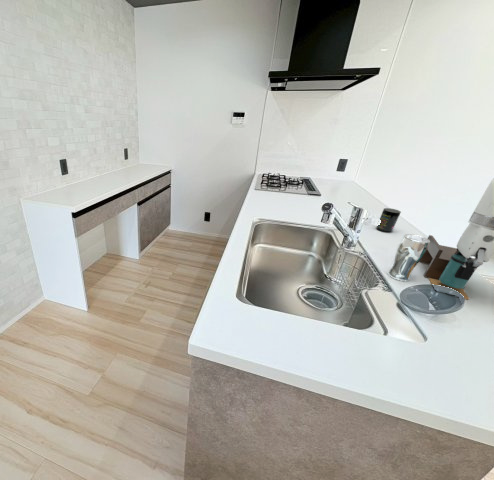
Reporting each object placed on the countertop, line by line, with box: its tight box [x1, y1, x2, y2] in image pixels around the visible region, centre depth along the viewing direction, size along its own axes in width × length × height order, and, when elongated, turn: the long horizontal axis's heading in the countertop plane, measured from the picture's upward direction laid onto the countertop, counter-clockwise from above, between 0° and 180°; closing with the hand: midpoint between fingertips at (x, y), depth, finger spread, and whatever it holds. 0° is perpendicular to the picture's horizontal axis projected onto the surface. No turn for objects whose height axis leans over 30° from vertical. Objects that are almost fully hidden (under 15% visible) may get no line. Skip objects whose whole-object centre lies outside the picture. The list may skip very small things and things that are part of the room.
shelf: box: [419, 234, 457, 280], centre depth 92 cm, size 10×14×11 cm
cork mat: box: [428, 278, 470, 301], centre depth 85 cm, size 8×8×1 cm
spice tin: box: [439, 254, 475, 289], centre depth 82 cm, size 6×6×9 cm
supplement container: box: [375, 207, 402, 234], centre depth 127 cm, size 7×7×10 cm
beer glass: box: [387, 233, 430, 282], centre depth 88 cm, size 7×7×15 cm
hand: (457, 272), depth 82 cm, fingers closed on spice tin, 6 cm apart
